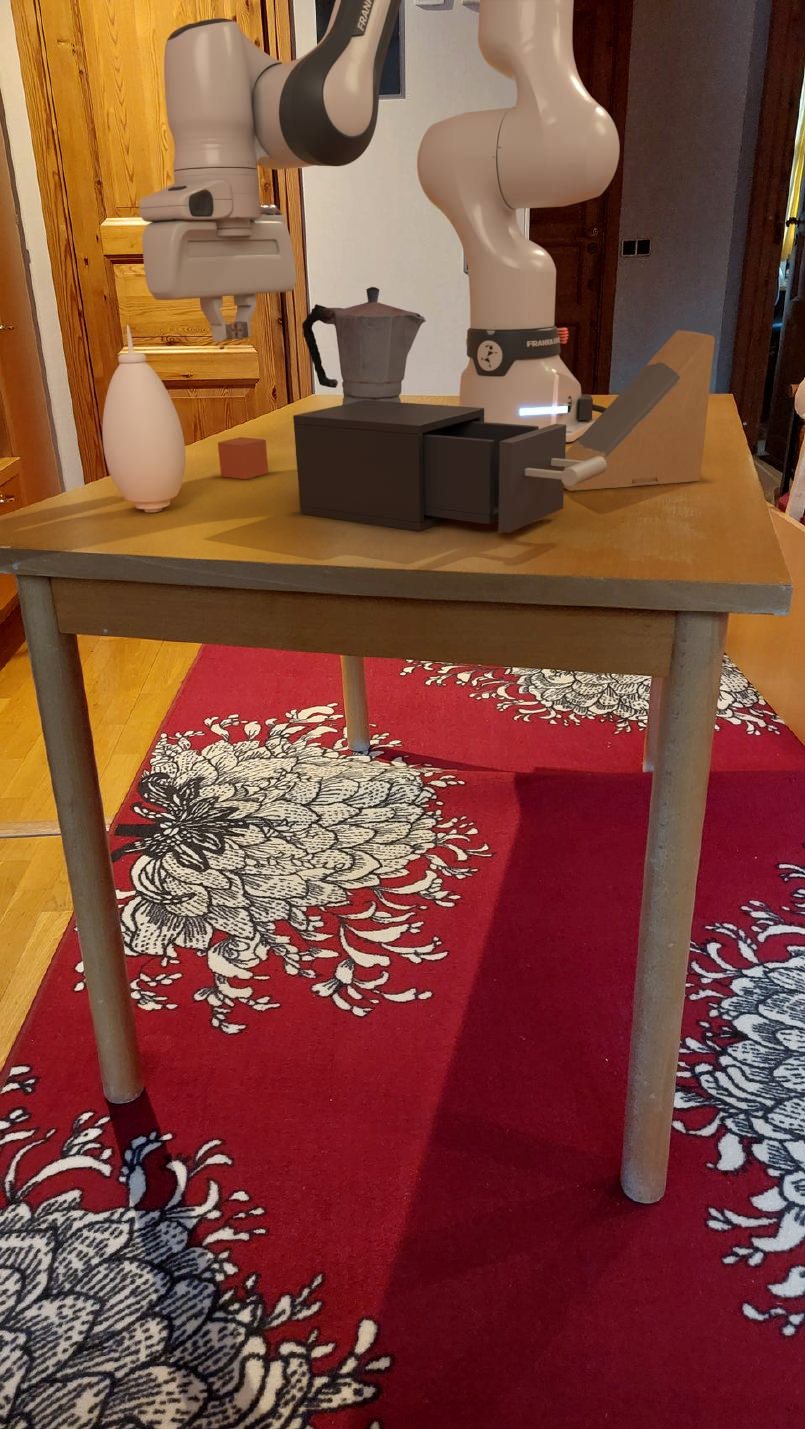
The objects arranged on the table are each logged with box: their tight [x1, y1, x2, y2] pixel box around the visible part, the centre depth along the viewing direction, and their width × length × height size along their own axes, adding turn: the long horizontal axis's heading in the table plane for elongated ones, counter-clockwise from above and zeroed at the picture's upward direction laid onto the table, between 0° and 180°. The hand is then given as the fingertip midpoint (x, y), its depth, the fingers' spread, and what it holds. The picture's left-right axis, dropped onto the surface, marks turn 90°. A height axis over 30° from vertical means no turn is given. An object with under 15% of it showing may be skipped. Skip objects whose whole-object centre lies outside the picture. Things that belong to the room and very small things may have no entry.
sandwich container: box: [564, 329, 716, 492], centre depth 106 cm, size 9×15×15 cm, turn 102°
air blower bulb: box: [101, 324, 187, 513], centre depth 98 cm, size 8×8×18 cm
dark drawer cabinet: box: [292, 400, 484, 532], centre depth 97 cm, size 15×12×10 cm
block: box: [217, 436, 269, 480], centre depth 116 cm, size 4×4×4 cm
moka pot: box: [301, 286, 427, 405], centre depth 119 cm, size 10×15×20 cm, turn 78°
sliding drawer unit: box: [422, 421, 607, 534], centre depth 91 cm, size 19×10×8 cm, turn 55°
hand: (232, 340), depth 111 cm, fingers closed
